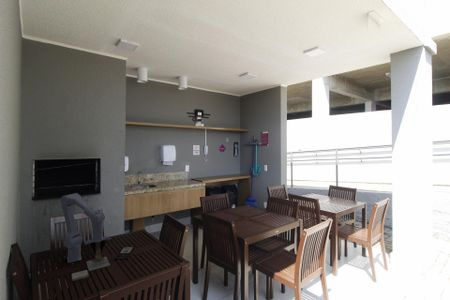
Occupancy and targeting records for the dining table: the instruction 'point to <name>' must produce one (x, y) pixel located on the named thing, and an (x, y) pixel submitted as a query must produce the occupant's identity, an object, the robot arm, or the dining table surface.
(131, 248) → the chocolate bar
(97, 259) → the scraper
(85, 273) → the tile
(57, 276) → the dining table surface
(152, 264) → the dining table surface
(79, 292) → the dining table surface
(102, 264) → the mat
